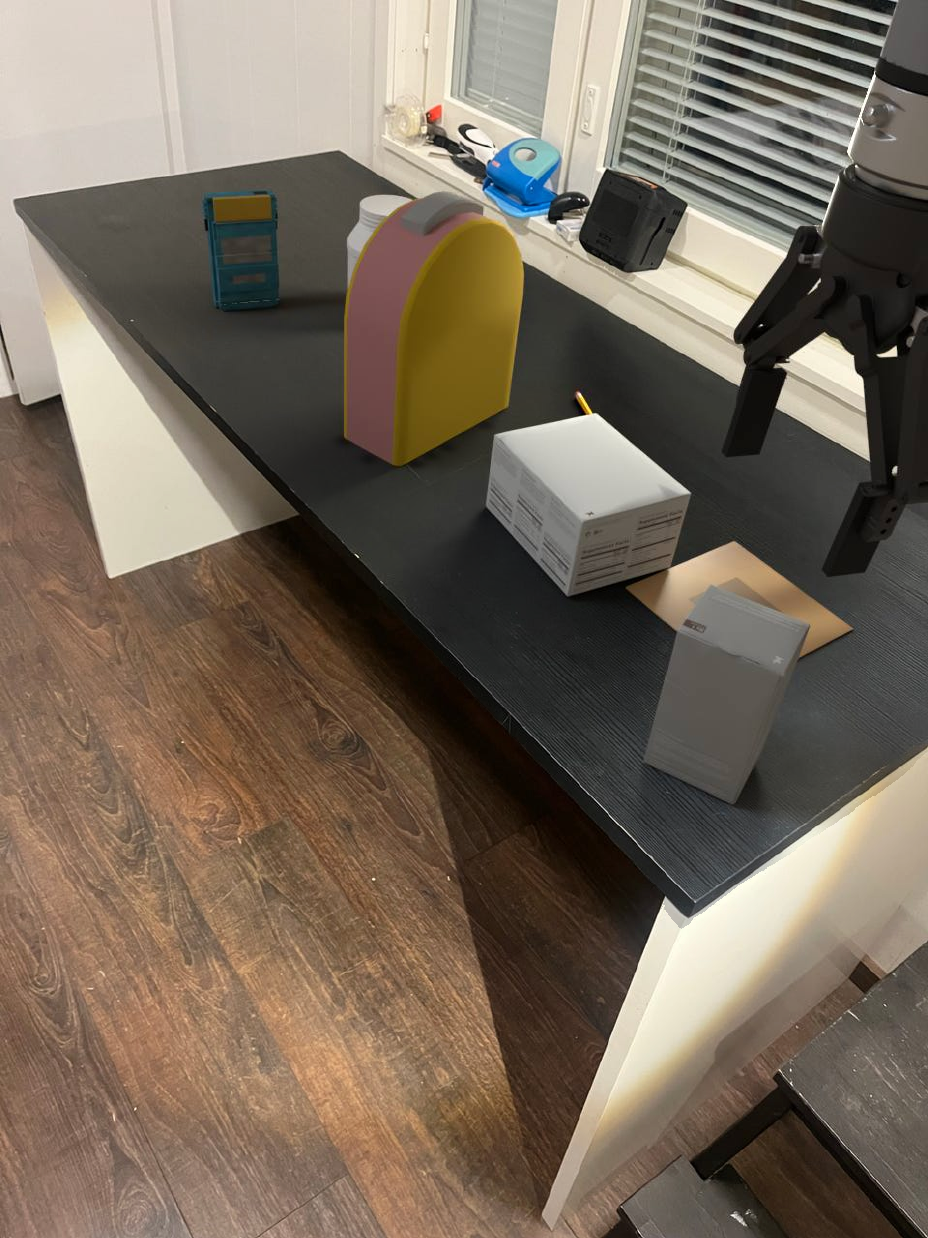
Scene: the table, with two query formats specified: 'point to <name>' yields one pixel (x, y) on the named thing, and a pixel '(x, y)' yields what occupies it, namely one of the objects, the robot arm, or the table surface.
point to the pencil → (583, 403)
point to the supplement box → (585, 502)
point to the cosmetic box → (723, 691)
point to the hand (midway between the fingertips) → (787, 508)
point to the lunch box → (430, 327)
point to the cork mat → (735, 592)
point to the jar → (370, 223)
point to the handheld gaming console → (242, 248)
